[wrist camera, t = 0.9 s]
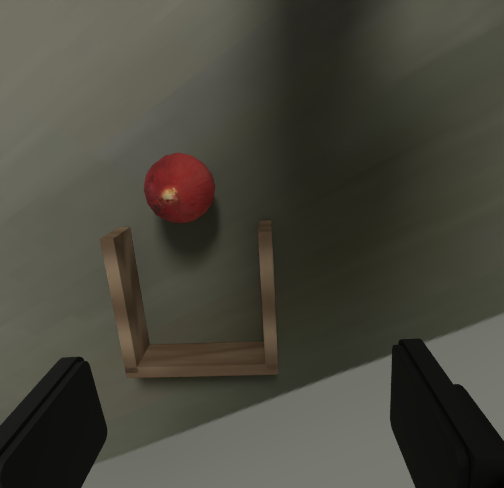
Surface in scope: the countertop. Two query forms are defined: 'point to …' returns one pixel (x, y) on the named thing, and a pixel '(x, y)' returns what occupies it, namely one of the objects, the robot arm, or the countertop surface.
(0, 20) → the countertop surface
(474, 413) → the robot arm
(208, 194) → the onion
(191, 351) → the wooden tray
